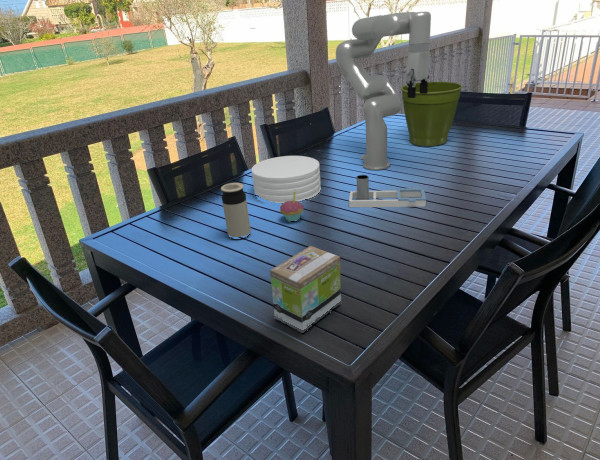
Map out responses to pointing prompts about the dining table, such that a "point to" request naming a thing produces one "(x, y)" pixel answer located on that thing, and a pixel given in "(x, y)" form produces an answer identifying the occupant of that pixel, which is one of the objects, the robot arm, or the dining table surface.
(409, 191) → the white ladder frame
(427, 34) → the robot arm
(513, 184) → the dining table surface
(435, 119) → the plant pot
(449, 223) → the dining table surface
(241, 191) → the travel mug
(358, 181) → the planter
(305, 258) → the tea box
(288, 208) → the cupcake
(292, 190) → the plate stack
